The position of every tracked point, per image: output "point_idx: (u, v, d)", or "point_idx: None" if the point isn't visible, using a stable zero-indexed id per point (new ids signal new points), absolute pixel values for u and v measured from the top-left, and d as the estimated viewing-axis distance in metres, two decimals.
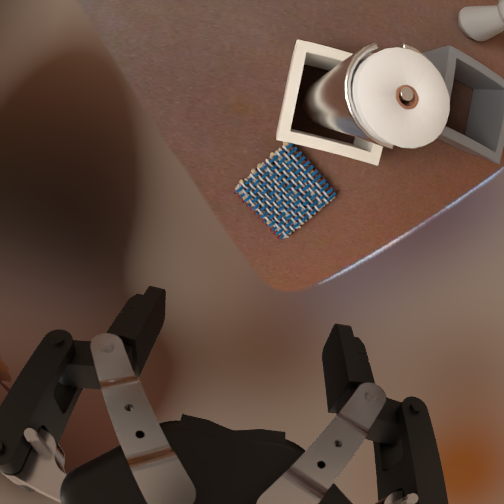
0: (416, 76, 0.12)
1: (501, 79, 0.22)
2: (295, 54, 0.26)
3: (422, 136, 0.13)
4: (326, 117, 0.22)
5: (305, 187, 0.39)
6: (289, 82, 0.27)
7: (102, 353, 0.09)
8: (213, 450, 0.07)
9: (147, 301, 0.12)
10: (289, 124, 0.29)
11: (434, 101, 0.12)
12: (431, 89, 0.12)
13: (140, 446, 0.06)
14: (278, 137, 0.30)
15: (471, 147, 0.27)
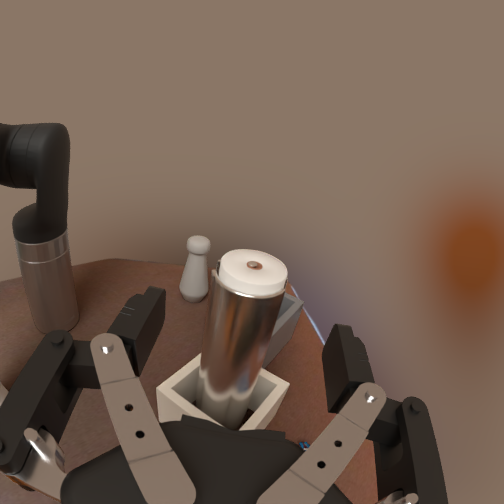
0: (243, 257, 0.26)
1: None
2: (168, 396, 0.30)
3: (281, 268, 0.25)
4: (240, 373, 0.27)
5: None
6: (190, 413, 0.29)
7: (102, 353, 0.09)
8: (213, 450, 0.07)
9: (147, 301, 0.12)
10: None
11: (260, 257, 0.27)
12: (253, 255, 0.27)
13: (141, 447, 0.06)
14: None
15: (289, 316, 0.46)
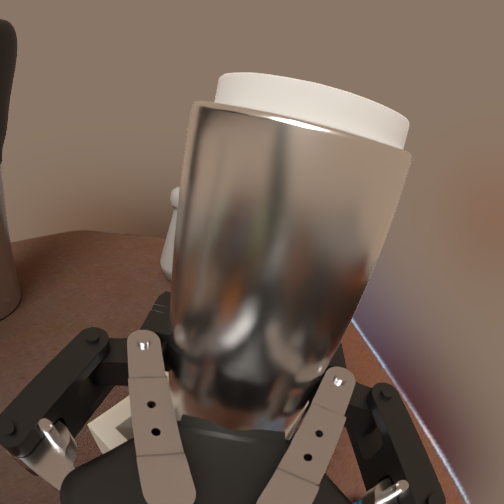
0: None
1: None
2: (108, 444, 0.12)
3: None
4: (266, 415, 0.09)
5: None
6: None
7: (140, 349, 0.09)
8: (213, 450, 0.07)
9: None
10: None
11: None
12: None
13: (153, 444, 0.06)
14: None
15: None
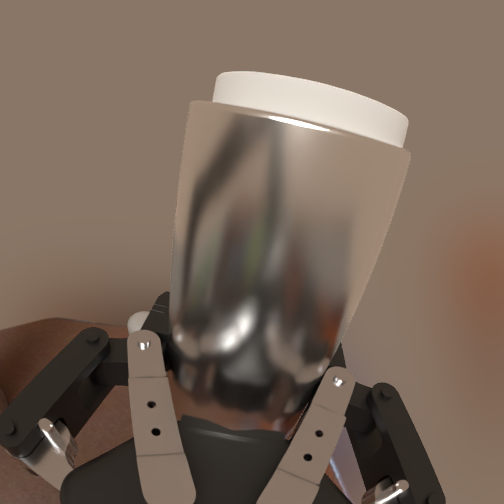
0: None
1: None
2: None
3: None
4: (266, 416, 0.09)
5: None
6: None
7: (140, 349, 0.09)
8: (213, 450, 0.07)
9: None
10: None
11: None
12: None
13: (153, 444, 0.06)
14: None
15: None
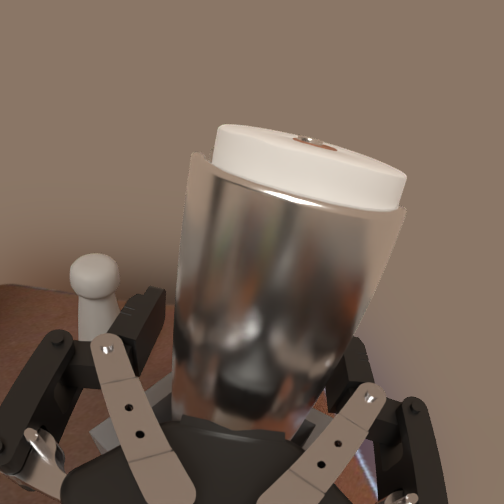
0: (280, 134, 0.09)
1: None
2: None
3: (380, 163, 0.09)
4: None
5: None
6: None
7: (102, 353, 0.09)
8: (213, 450, 0.07)
9: (147, 301, 0.12)
10: None
11: None
12: None
13: (141, 447, 0.06)
14: None
15: None
